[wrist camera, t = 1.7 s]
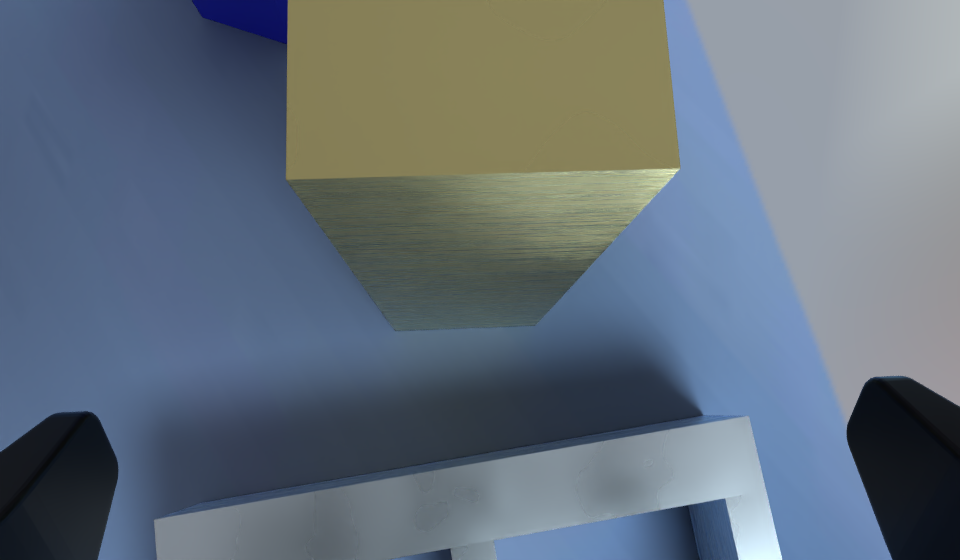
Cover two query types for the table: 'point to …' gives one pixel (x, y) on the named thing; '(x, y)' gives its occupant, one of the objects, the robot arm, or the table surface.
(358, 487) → the metal frame
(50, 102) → the table surface
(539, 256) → the brass peg
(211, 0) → the cable clip
